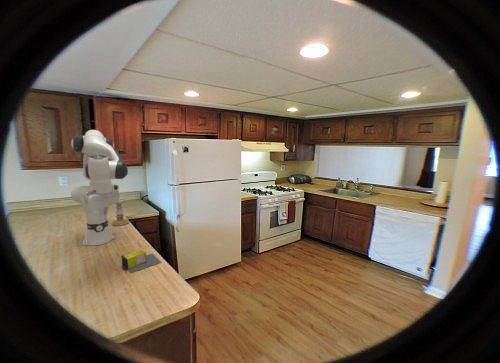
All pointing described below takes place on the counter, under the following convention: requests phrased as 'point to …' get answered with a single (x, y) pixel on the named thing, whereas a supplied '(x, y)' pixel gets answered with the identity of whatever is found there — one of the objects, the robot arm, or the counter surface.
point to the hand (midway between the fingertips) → (103, 216)
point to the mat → (146, 263)
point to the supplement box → (133, 259)
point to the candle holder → (120, 215)
